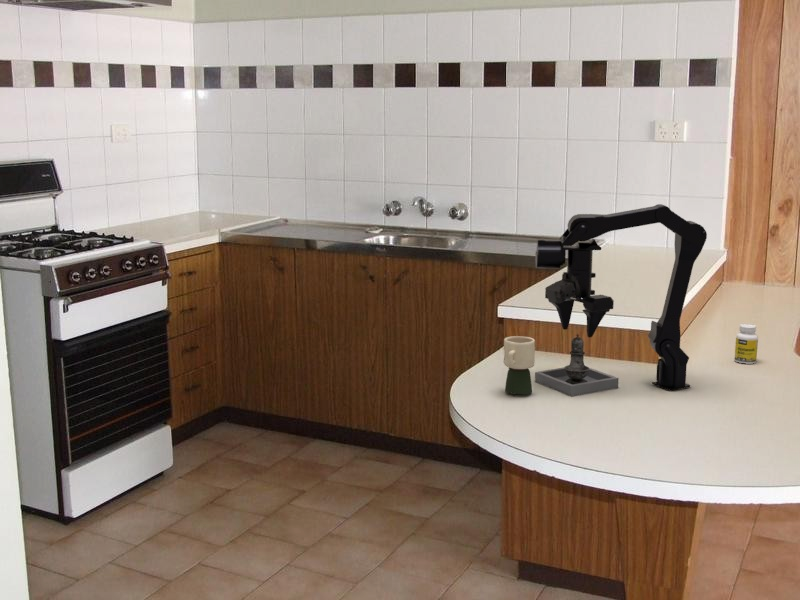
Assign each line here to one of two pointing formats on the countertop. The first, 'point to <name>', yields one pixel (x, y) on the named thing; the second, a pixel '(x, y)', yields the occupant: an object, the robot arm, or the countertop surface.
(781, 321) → the countertop surface
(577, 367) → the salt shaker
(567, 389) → the charcoal tray
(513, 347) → the character mug
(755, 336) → the supplement bottle
